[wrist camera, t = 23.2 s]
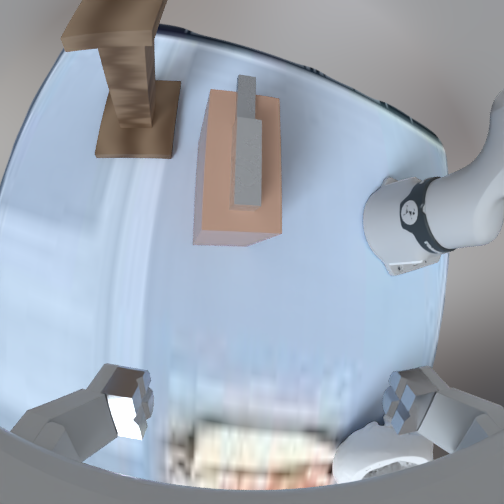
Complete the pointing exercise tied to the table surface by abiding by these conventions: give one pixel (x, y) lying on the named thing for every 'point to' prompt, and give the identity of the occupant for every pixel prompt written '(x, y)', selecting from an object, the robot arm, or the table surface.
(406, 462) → the skull planter
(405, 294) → the table surface
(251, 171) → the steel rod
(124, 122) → the walnut shelf stand
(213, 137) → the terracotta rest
